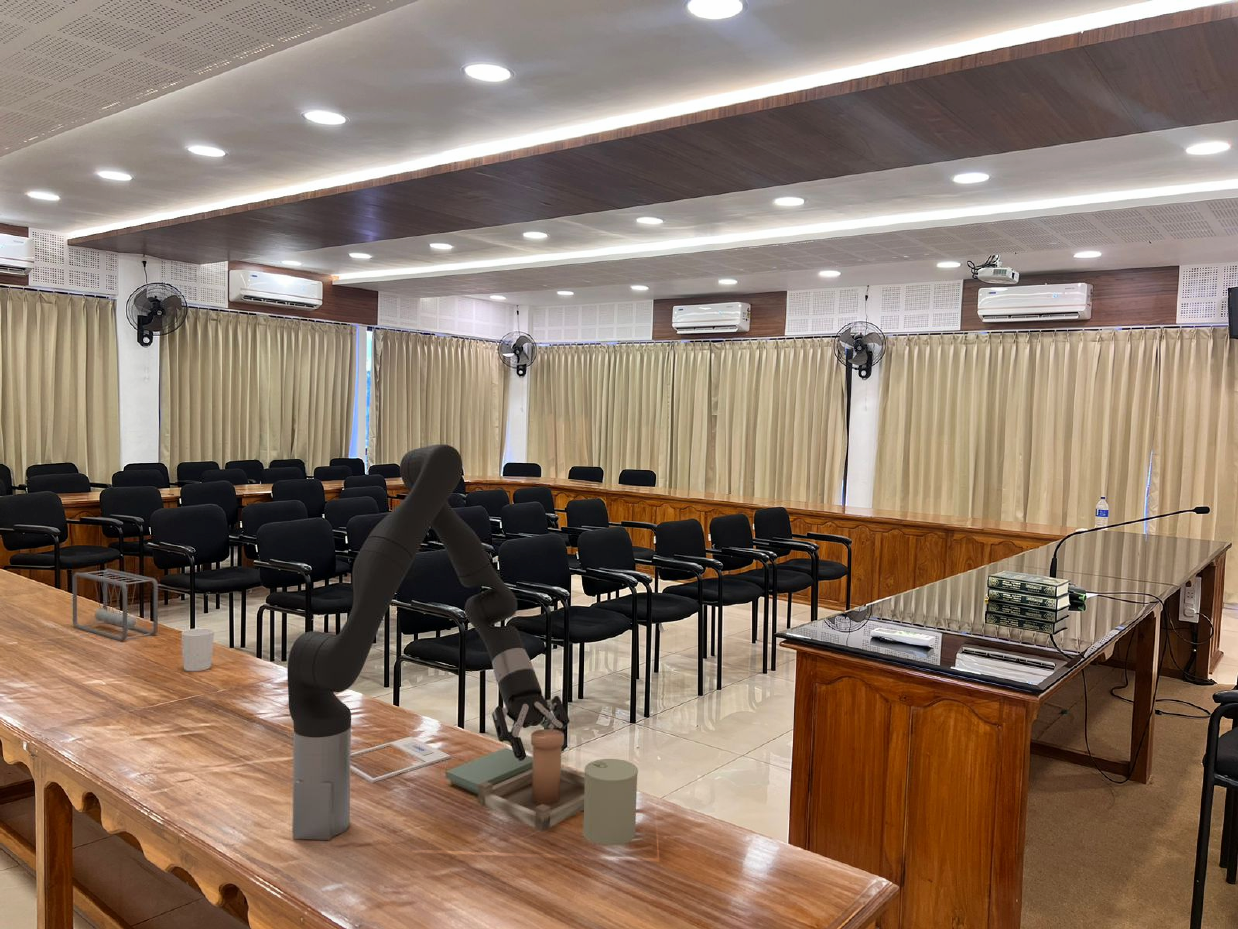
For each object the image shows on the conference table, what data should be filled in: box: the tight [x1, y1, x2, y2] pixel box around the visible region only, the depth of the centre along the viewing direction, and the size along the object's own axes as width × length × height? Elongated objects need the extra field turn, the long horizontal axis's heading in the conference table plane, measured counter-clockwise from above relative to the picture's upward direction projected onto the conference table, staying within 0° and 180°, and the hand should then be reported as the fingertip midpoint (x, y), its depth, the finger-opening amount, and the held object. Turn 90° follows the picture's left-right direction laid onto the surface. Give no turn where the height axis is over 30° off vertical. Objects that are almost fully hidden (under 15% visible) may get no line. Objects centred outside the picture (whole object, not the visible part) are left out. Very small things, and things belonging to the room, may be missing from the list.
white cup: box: [181, 627, 215, 672], centre depth 234 cm, size 8×8×10 cm
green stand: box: [445, 747, 533, 795], centre depth 168 cm, size 9×16×3 cm, turn 142°
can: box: [582, 758, 639, 846], centre depth 147 cm, size 9×9×12 cm
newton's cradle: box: [72, 568, 159, 642], centre depth 269 cm, size 30×10×18 cm, turn 58°
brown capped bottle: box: [530, 728, 565, 805], centre depth 159 cm, size 6×6×12 cm
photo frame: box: [350, 736, 451, 784], centre depth 176 cm, size 15×1×18 cm
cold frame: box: [477, 765, 585, 832], centre depth 159 cm, size 16×19×4 cm
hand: (543, 754), depth 160 cm, fingers open, 8 cm apart
